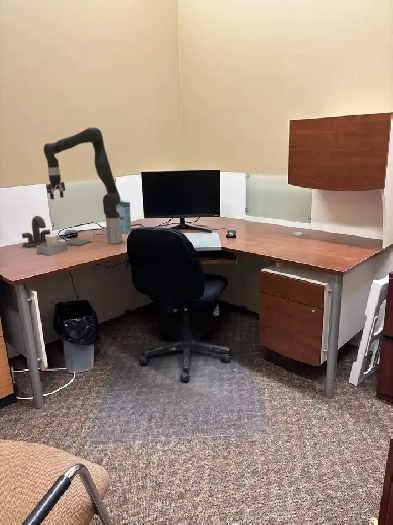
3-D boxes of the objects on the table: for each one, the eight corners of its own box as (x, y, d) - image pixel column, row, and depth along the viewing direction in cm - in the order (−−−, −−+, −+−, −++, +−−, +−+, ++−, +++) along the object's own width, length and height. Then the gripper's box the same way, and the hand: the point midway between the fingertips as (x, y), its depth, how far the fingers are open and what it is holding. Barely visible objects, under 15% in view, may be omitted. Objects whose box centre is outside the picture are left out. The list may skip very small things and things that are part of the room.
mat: (91, 242, 283) (90, 240, 282) (79, 246, 272) (79, 244, 272) (75, 240, 289) (74, 238, 288) (62, 244, 278) (62, 242, 278)
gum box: (113, 229, 319) (110, 199, 312) (118, 228, 322) (116, 199, 316) (125, 233, 305) (123, 202, 298) (131, 232, 308) (130, 202, 301)
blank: (58, 250, 262) (56, 235, 259) (53, 252, 259) (52, 236, 256) (52, 250, 264) (50, 234, 261) (47, 251, 261) (46, 236, 258)
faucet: (33, 250, 264) (29, 219, 258) (21, 246, 274) (17, 216, 268) (59, 244, 276) (55, 215, 270) (47, 241, 287) (43, 212, 281)
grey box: (67, 249, 265) (66, 241, 264) (49, 255, 252) (48, 247, 251) (55, 247, 270) (54, 240, 268) (37, 253, 257) (36, 245, 255)
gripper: (50, 175, 270) (53, 200, 275) (66, 173, 282) (68, 197, 287) (42, 175, 273) (45, 199, 278) (58, 173, 286) (60, 196, 290)
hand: (57, 198), depth 283 cm, fingers open, 8 cm apart
